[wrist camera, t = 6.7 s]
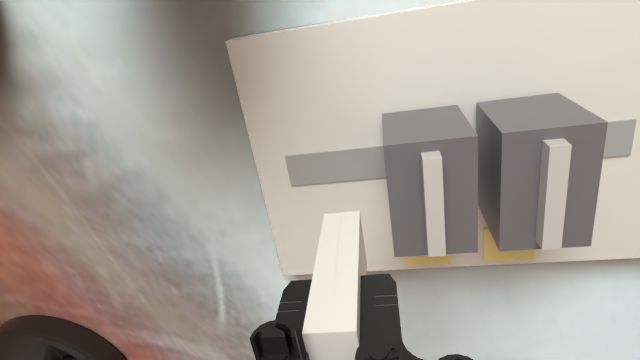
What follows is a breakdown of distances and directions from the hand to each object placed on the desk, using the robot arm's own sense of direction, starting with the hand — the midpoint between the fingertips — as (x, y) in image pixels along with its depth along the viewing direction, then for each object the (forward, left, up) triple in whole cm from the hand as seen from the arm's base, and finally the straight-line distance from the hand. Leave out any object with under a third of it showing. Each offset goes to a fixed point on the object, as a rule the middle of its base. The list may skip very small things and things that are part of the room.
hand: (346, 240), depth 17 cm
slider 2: (+9, 0, -8) cm, 12 cm away
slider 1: (+4, 0, -8) cm, 8 cm away
